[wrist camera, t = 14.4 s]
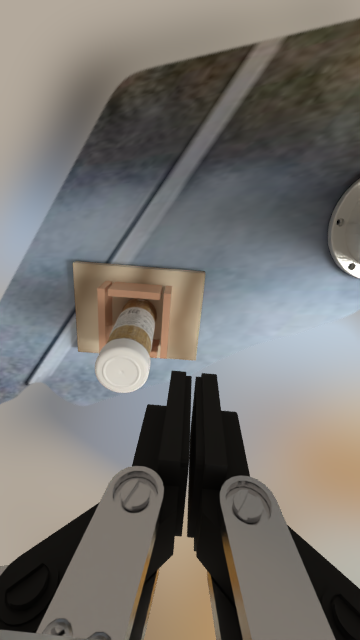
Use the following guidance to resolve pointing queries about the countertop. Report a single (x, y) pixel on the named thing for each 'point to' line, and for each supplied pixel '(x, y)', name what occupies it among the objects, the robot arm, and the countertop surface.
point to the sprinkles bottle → (128, 348)
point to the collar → (132, 291)
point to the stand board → (182, 300)
